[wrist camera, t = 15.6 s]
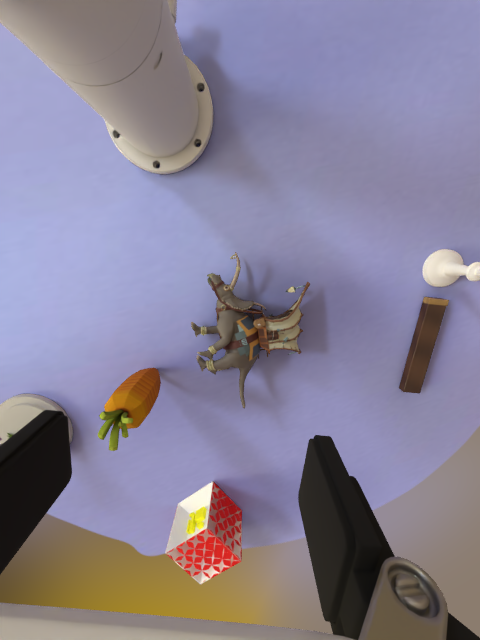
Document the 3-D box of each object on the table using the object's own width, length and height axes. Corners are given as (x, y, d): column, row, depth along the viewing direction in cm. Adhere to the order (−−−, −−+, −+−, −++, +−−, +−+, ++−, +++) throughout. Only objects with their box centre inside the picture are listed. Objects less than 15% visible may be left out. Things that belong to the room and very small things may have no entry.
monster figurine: (3, 382, 41) (-73, 425, 31) (80, 409, 42) (30, 458, 32) (-8, 444, 44) (-81, 501, 34) (64, 467, 45) (13, 529, 35)
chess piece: (467, 266, 36) (550, 272, 26) (438, 293, 37) (507, 309, 27) (444, 241, 35) (520, 238, 25) (414, 270, 36) (477, 277, 26)
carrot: (141, 351, 40) (82, 410, 25) (174, 359, 40) (135, 422, 25) (136, 381, 41) (77, 453, 26) (168, 388, 41) (127, 464, 27)
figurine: (161, 276, 32) (300, 228, 30) (175, 275, 37) (291, 234, 36) (218, 424, 35) (345, 386, 34) (222, 401, 41) (330, 368, 40)
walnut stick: (423, 296, 37) (430, 298, 36) (442, 298, 37) (449, 300, 36) (398, 387, 41) (403, 392, 39) (415, 389, 41) (420, 393, 39)
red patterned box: (213, 481, 45) (206, 528, 38) (241, 510, 47) (241, 561, 39) (177, 503, 47) (164, 553, 39) (206, 531, 48) (199, 584, 41)
